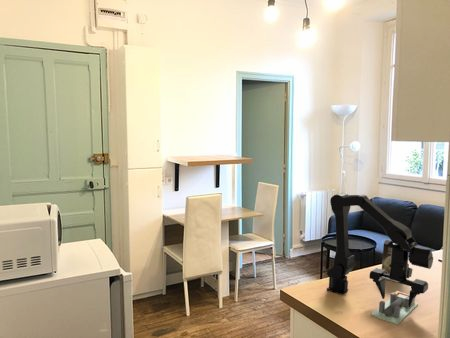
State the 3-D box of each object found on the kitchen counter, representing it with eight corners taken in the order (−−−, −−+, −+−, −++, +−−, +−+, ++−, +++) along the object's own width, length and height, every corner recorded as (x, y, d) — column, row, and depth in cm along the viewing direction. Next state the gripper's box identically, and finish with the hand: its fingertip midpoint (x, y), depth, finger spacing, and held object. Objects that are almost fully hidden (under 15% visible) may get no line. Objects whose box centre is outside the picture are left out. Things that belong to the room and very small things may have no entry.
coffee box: (380, 278, 164) (382, 243, 163) (382, 273, 170) (385, 239, 168) (403, 283, 160) (405, 246, 158) (404, 278, 165) (407, 243, 163)
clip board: (371, 315, 130) (371, 304, 130) (393, 297, 145) (393, 287, 145) (397, 324, 124) (398, 313, 124) (417, 304, 139) (418, 294, 139)
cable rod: (381, 315, 130) (381, 308, 129) (399, 299, 142) (399, 293, 142) (390, 318, 127) (391, 311, 127) (407, 302, 140) (408, 296, 139)
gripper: (434, 262, 133) (431, 304, 134) (381, 250, 146) (379, 288, 147) (424, 270, 125) (421, 314, 126) (370, 256, 138) (367, 297, 139)
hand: (396, 302), depth 135 cm, fingers open, 9 cm apart
